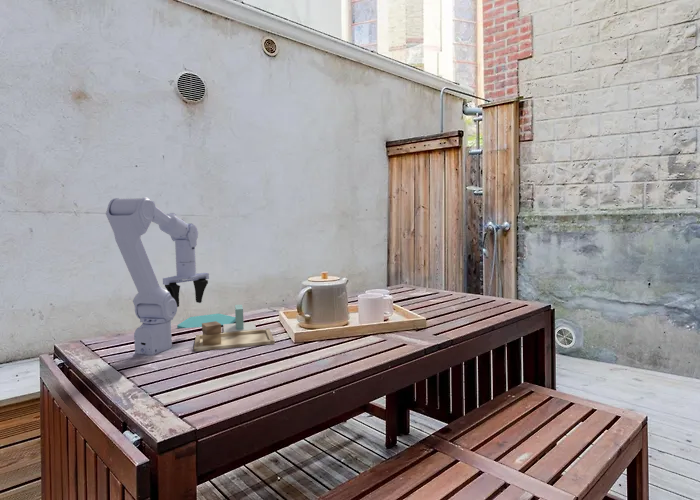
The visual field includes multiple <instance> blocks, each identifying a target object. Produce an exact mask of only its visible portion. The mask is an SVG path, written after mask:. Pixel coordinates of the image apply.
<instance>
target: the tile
mask: <svg viewBox="0 0 700 500" xmlns="http://www.w3.org/2000/svg"><path fill="white" fill-rule="evenodd" d="M243 324H244V329H240V330H236V322H234V323H233V324H223V325H222V326H223V333H225V332H236V331H248V330H257V327H256V323H255V321H249V322H248V321H247V322H243Z"/></svg>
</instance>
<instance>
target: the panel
mask: <svg viewBox="0 0 700 500" xmlns="http://www.w3.org/2000/svg"><path fill="white" fill-rule="evenodd" d="M234 308H235V309H234V310H235V312H234V313H235V316H234V317H235V318H236V321H235V323H236V330H240V329H244V324H243V323H244V308H243V304H235V305H234Z"/></svg>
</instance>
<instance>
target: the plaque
mask: <svg viewBox="0 0 700 500" xmlns="http://www.w3.org/2000/svg"><path fill="white" fill-rule="evenodd" d="M215 321H216V322H218V323H220V324H221V326H223V324H234V323H236V318H235V316H232V315H228V314H223V313H220V312H219V313H211V314H205V315H204V314H203V315H195V316H190V317H188V318H187V319H185V320H183V321H181V322H179V324H177V325H176V328H177V329H190V328H192V329H193V328H202V323H208V322H215Z"/></svg>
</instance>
